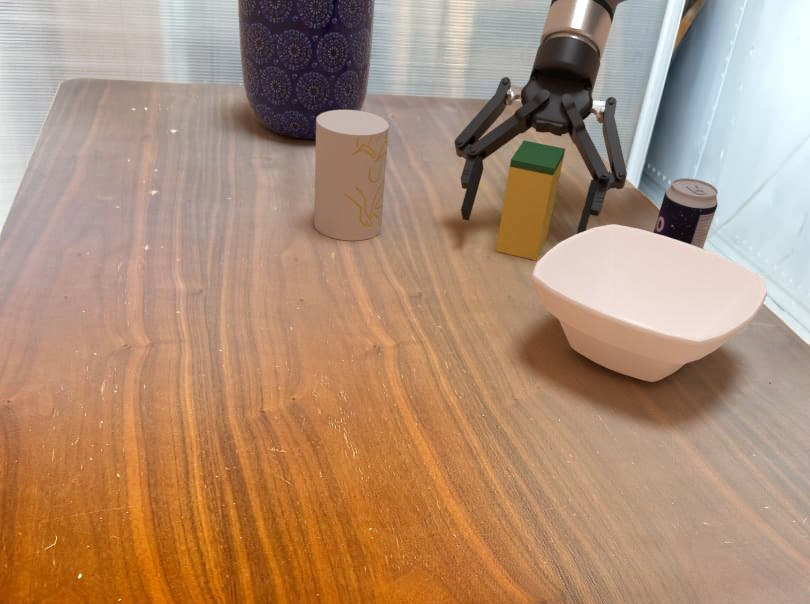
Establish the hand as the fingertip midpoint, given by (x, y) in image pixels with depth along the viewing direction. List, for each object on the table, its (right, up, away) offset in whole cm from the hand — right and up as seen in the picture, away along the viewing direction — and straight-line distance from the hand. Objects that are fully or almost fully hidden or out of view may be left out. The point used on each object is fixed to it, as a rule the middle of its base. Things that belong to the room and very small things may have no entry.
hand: (521, 227), depth 102 cm
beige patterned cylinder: (-21, +2, +5) cm, 21 cm away
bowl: (+9, -17, -11) cm, 23 cm away
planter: (-28, +25, +29) cm, 48 cm away
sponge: (+1, 0, +6) cm, 6 cm away
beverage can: (+16, -8, 0) cm, 18 cm away
